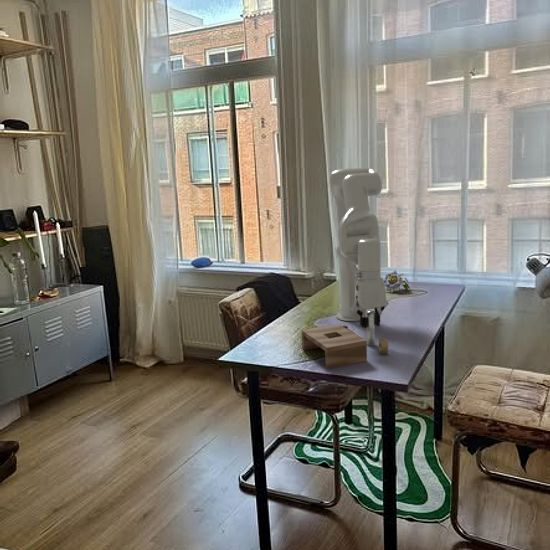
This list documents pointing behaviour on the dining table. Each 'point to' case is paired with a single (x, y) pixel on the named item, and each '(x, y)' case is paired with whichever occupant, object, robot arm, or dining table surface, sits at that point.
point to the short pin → (383, 346)
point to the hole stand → (336, 345)
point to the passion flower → (395, 282)
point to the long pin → (370, 328)
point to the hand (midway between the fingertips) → (370, 325)
